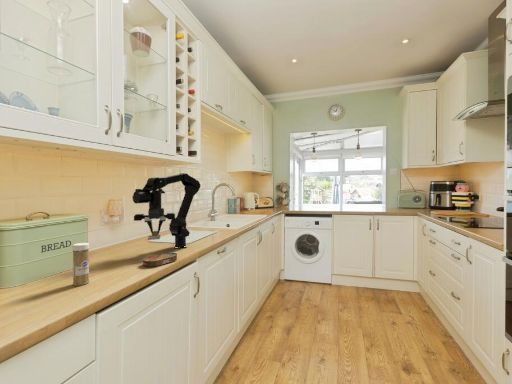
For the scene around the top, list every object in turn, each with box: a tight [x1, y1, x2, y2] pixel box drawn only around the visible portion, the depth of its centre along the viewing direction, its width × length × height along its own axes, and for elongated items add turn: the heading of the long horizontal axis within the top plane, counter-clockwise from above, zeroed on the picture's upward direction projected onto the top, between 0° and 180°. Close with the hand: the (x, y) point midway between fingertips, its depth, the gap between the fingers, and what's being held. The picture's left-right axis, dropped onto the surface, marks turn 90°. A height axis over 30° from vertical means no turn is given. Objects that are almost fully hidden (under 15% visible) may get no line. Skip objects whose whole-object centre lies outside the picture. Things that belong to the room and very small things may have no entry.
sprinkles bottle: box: [72, 242, 90, 287], centre depth 84 cm, size 5×5×14 cm
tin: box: [142, 252, 178, 268], centre depth 109 cm, size 15×3×8 cm
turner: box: [147, 230, 161, 241], centre depth 122 cm, size 16×5×2 cm, turn 18°
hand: (155, 234), depth 125 cm, fingers closed on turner, 2 cm apart
